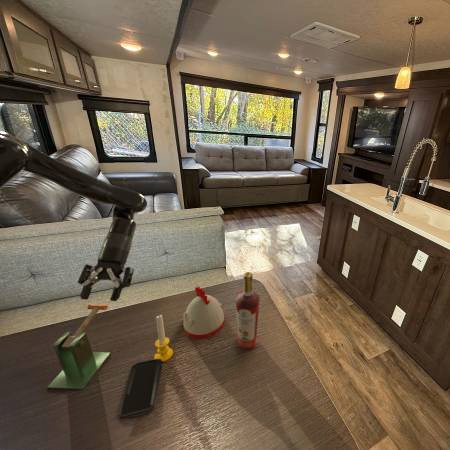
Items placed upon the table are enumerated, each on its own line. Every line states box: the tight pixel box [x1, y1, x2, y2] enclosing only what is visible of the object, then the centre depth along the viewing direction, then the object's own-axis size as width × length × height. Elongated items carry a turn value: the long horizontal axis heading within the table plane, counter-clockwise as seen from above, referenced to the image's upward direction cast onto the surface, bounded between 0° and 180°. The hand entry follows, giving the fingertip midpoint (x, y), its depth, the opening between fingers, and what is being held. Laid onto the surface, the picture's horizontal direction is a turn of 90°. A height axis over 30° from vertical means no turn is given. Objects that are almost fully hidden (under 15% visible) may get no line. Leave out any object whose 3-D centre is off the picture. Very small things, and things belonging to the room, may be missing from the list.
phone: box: [118, 358, 163, 419], centre depth 68 cm, size 8×1×15 cm
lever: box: [61, 303, 109, 351], centre depth 70 cm, size 13×5×2 cm, turn 2°
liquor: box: [235, 271, 260, 350], centre depth 79 cm, size 7×7×28 cm
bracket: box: [46, 331, 112, 391], centre depth 68 cm, size 11×9×13 cm
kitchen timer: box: [182, 286, 225, 339], centre depth 87 cm, size 14×14×15 cm
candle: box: [153, 314, 174, 363], centre depth 74 cm, size 5×5×16 cm
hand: (98, 300), depth 75 cm, fingers open, 8 cm apart
